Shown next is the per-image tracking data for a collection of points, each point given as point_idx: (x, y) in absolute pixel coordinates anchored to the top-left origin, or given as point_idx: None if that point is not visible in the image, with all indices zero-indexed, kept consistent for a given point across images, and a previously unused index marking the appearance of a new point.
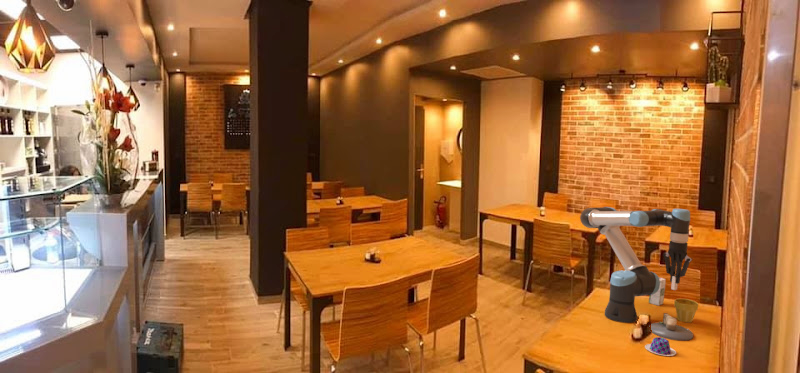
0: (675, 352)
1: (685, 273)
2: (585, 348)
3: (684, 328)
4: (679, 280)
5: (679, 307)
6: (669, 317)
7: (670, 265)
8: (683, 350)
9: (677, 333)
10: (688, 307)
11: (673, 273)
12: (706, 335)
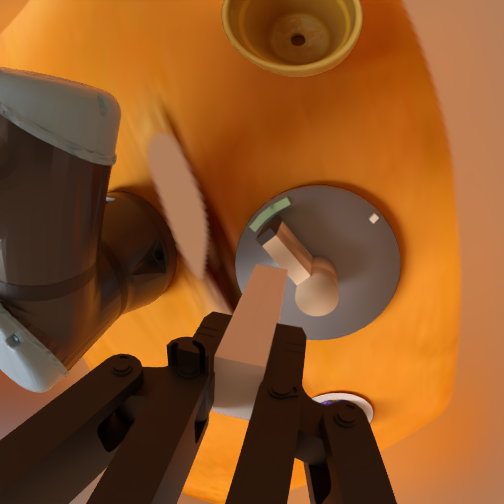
0: (370, 409)
1: (377, 446)
2: (217, 468)
3: (356, 208)
4: (303, 361)
5: (279, 74)
6: (303, 292)
7: (63, 447)
8: (387, 380)
9: (350, 294)
10: (330, 66)
11: (197, 414)
12: (432, 178)
